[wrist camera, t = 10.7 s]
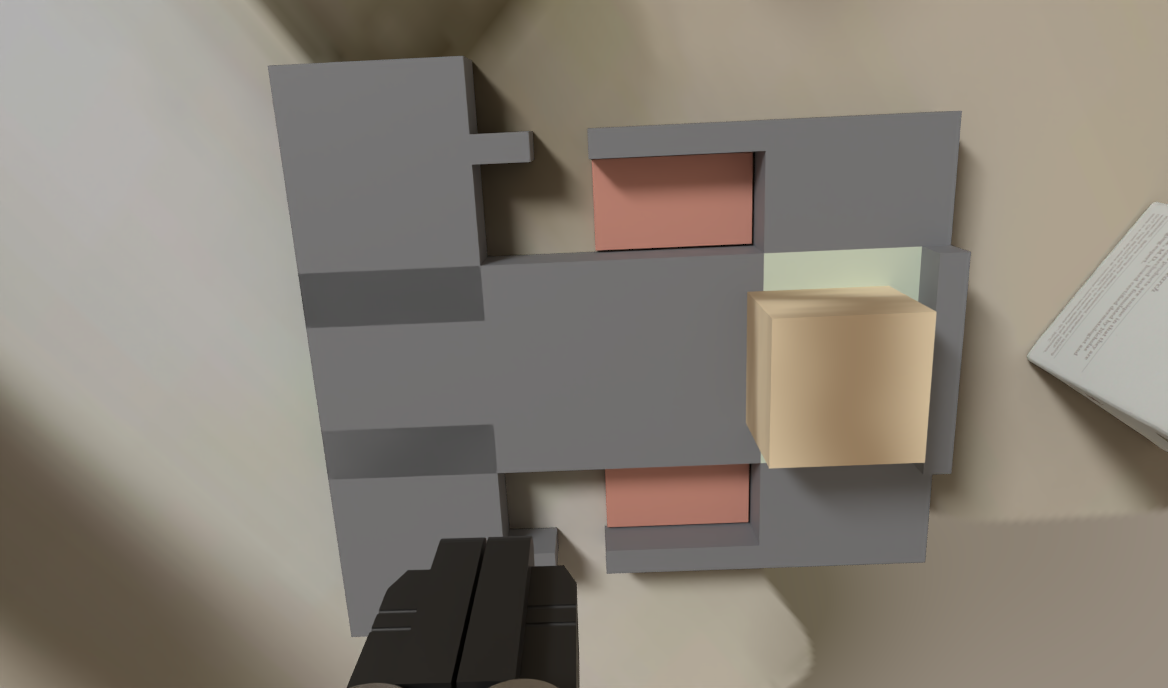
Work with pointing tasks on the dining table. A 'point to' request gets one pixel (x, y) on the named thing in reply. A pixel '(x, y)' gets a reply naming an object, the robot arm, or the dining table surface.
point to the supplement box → (1119, 331)
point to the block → (838, 376)
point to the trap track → (597, 323)
